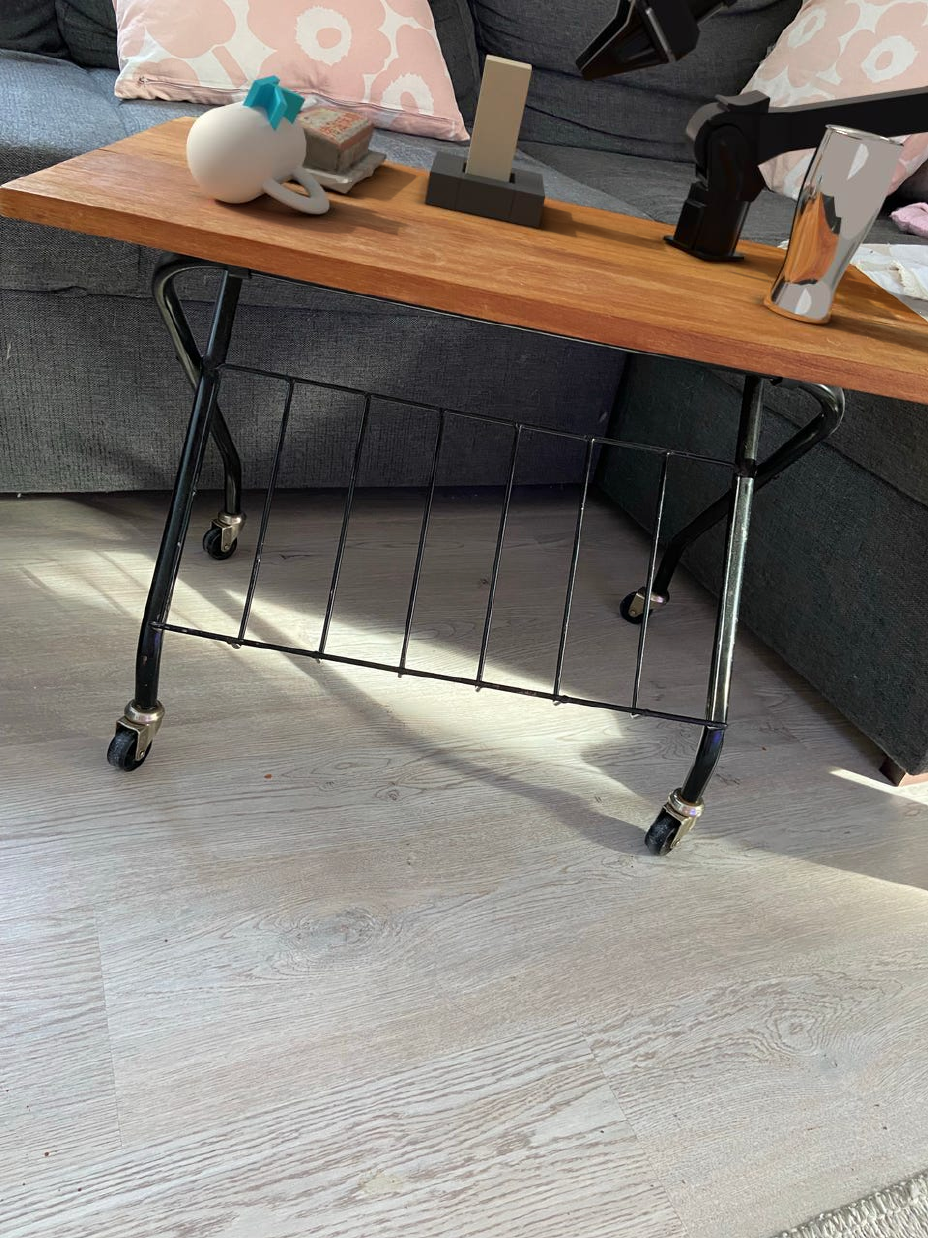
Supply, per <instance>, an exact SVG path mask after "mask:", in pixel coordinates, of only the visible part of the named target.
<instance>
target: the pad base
mask: <svg viewBox="0 0 928 1238" xmlns="http://www.w3.org/2000/svg"><path fill="white" fill-rule="evenodd" d="M467 161H468V156H462V155H457V154H454V153H448V152H444V151H440V150H437V151H436V153H435V156H434V159H433V162H432V164H431V168H430V171H429V176H428V180H427V181H428V182H427V187H426V193H425V200H424V205H425V204H426V205H430V206H435V207H439V208H443V209H448V210H454V211H457V212H462V213H466V214H471V215H476V216H480V217H484V218H489V219H494V220H498V221H502V222H503V221H504V222H508V223H513V224H517V225H522V226H525V227H526V226H527V227H531V228H535V229H539V226H540V221H541V217H542V214H543V213H542V212H543V209H544V205H545V199H546V193H545V185H544V180H543V179H544V178H543V174H542V173H538V172H534V171H531V170H525V169H521V168H520V169H519V168H516V167H512V168H511V173H510V178H509V182H504V181H500V180H495V179H491V178H486V177H482V176H477V175H472V174H468V173H465V172H466V167H467Z"/></svg>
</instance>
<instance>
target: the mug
mask: <svg viewBox="0 0 928 1238" xmlns="http://www.w3.org/2000/svg"><path fill="white" fill-rule="evenodd" d="M280 82H281V79H280V78H279V77H278V76H276V75H275V74H274V75H270V76H266V77H265V76H264V77H263V78H259V79H258V78H257V79H255V80H253V82H252V84H251V87H250V89H249V91H248V92H247V95H246V97H245V99H244V100H242V101H238V102H234V103H230V104H226V105H224V106H223V105H222V106H220V107H219V106H218V107H215V108H212V109H209V110H207V111H206V112H204V113H203V114H201V115H200V116H199V117H198V118H197V119H196V121H194V123H193V125H191V128H190V130H189V133H188V136H187V140H186V147H185V148H186V149H185V150H186V152H185V153H186V161H187V164H188V167H189V170H190V172H191V175H192V177H193V178H194V180H195V182H196V183H197V185H199V187H200V188H201V189H202V190H203V191H204V192H206V194H208V195H209V196H211V197H212V198H214V199H216V200H218V201H220V202H223V203H228V204H243V203H247V202H250V201H252V200H255V199H256V198H258V197H260V196H262V195H264V194H267V195H269V196H270V197H271V198H273V199H275V200H277V201H278V202H280V203H282V204H283V205H286V206H287V207H290V208H292V209H294V210H296V211H299V212H303V213H306V214H311V215H321V214H325V213H327V212H328V210H329V209H330V200H329V197H328V196H327V194H326V192H325V190H324V188H323V187H321V186H320V185H319V183H318V182H317V181H316V180H315V179H314V178H313V177H312V176H311V175H310V174H309V173H308V172H307V171H306V170H305V169H304V168H303V167H302V165H303V162H304V159H305V156H306V139H305V134H304V130H303V127H302V125H301V123H300V121H299V120H298V118H297V115H298V114H300V111H301V110H302V107H303V106H304V103H305V102H306V99H305V97H303V96H302V95H301V94H299V93H297V92H295V91H292V90H290V89H288V88H285V87H283V86H281V85H279V84H280ZM292 178H294V179H295V180H297V181H296V182H297V183H299V184H300V185H301V187H303V189H304V191H306V192H307V194H308V196H309V197H307V196H304V195H301V194H299V193H297V192H295V191H292V190H291V189H288V188H287V187H285V186H283V184H285V183H287V182H289V181H291V179H292ZM295 180H294V181H295Z"/></svg>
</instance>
